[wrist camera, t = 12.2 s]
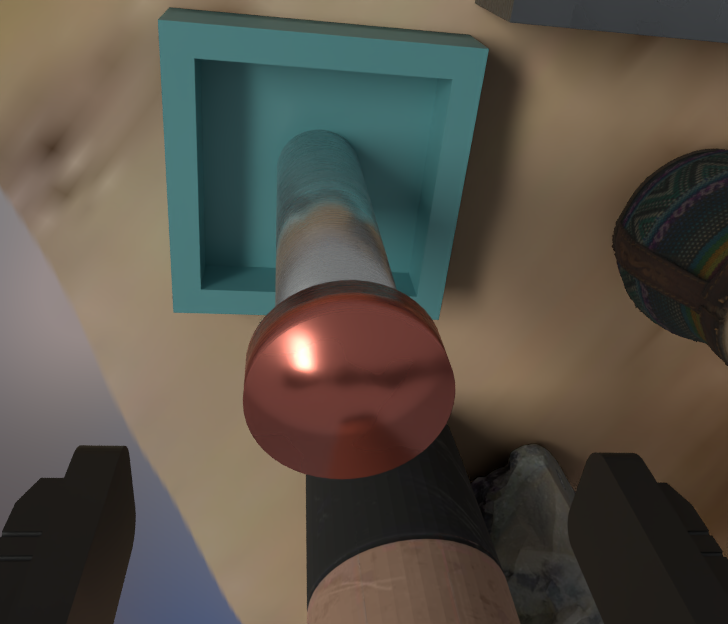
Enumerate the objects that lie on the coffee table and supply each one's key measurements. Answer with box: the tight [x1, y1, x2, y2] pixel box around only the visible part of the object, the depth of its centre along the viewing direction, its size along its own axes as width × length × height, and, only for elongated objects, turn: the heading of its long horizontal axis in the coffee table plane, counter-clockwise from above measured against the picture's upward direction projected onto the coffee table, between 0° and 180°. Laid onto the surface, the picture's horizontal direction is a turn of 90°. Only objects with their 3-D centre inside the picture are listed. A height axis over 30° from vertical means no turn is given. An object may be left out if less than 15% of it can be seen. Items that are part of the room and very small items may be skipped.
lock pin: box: [243, 130, 455, 479], centre depth 19 cm, size 4×4×13 cm
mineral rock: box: [471, 444, 604, 624], centre depth 32 cm, size 13×11×10 cm
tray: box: [158, 7, 489, 320], centre depth 24 cm, size 10×10×2 cm
